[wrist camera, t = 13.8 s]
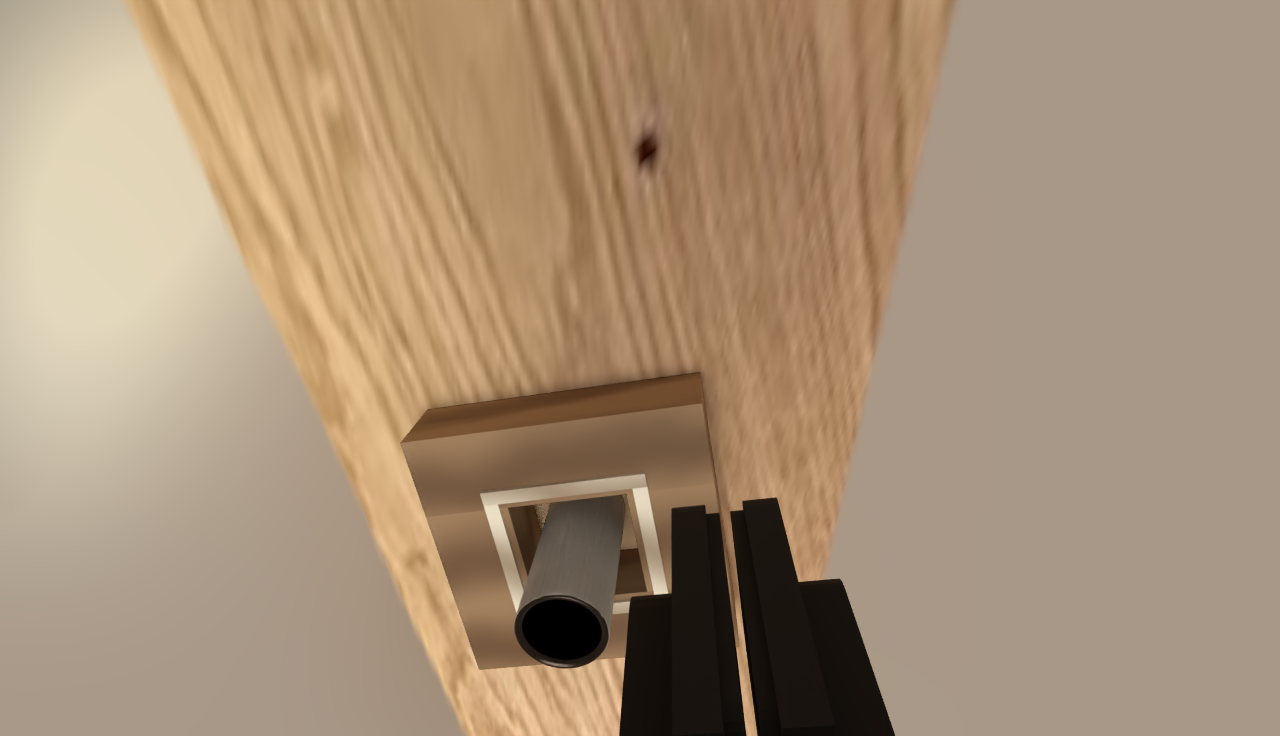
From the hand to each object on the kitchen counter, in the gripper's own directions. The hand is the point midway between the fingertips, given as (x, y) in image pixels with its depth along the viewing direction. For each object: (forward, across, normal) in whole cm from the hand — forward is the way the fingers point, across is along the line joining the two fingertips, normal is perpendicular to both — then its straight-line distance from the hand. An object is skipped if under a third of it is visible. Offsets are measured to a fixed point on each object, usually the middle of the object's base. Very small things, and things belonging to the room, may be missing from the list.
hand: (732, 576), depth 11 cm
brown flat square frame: (+25, +8, +16) cm, 31 cm away
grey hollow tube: (+25, +8, +16) cm, 31 cm away
